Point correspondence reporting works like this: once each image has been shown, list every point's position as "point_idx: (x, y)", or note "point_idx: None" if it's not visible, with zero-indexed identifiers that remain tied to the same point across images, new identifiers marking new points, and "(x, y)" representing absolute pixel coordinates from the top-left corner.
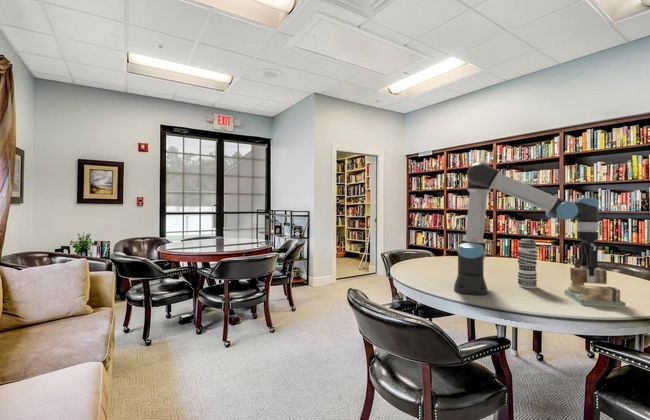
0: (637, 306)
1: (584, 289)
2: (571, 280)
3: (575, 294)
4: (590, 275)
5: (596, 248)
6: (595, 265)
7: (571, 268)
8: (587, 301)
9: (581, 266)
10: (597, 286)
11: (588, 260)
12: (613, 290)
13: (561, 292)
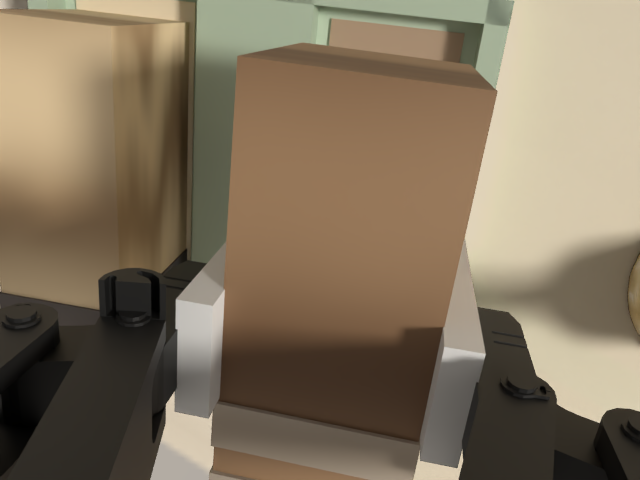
0: (166, 409)
1: (22, 13)
2: (431, 60)
3: (260, 8)
4: (179, 265)
5: None
6: (6, 422)
7: (424, 79)
8: (36, 7)
9: (473, 350)
10: (115, 224)
11: (36, 432)
12: (6, 295)
13: (603, 6)
